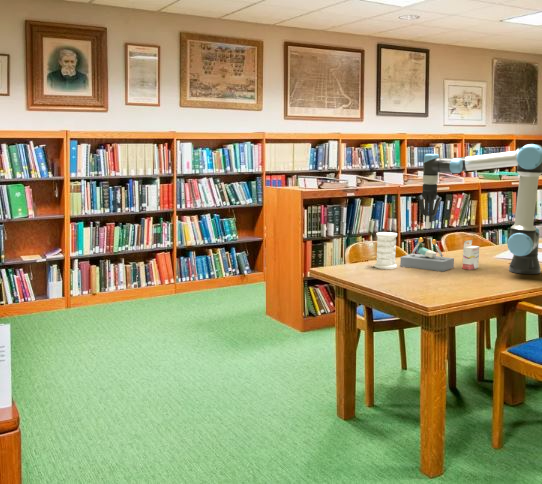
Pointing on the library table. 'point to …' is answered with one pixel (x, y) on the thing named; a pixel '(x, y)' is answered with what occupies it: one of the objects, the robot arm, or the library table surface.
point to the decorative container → (386, 250)
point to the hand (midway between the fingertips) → (428, 228)
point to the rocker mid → (427, 252)
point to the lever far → (417, 244)
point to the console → (427, 262)
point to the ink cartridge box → (470, 256)
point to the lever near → (436, 246)
